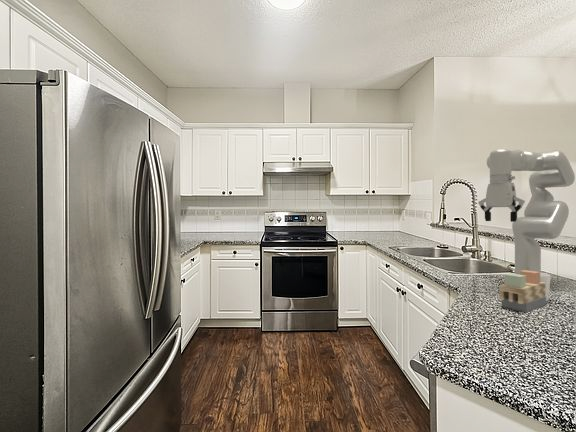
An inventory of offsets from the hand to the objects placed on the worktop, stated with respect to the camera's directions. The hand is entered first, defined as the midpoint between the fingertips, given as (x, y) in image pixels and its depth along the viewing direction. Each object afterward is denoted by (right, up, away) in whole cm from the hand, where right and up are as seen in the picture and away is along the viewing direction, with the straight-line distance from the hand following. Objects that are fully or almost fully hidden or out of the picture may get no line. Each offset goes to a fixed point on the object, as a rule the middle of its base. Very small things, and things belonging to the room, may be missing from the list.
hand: (500, 221), depth 134 cm
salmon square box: (+2, -23, -14) cm, 26 cm away
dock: (-2, -31, -16) cm, 35 cm away
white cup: (+9, -31, -8) cm, 33 cm away
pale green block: (-8, -23, -19) cm, 31 cm away
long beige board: (-3, -28, -16) cm, 32 cm away
